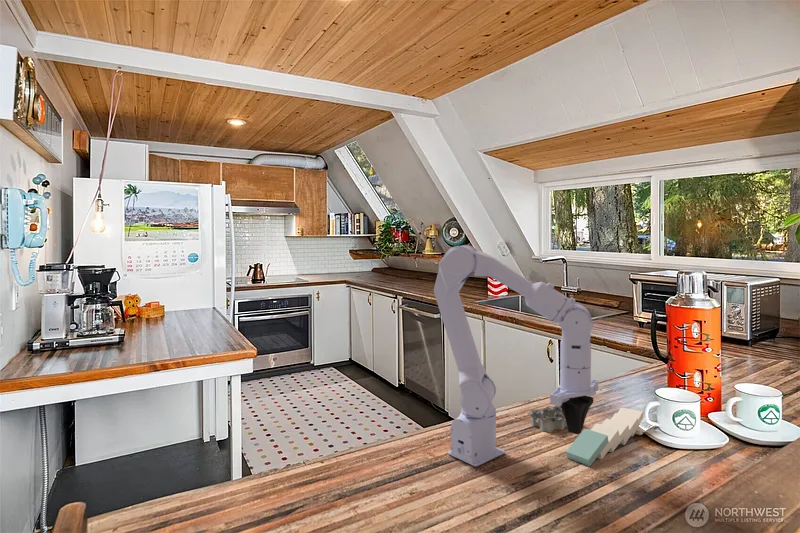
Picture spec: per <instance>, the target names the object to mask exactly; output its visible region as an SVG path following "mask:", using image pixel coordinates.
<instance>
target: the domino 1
mask: <svg viewBox="0 0 800 533" xmlns="http://www.w3.org/2000/svg"><path fill="white" fill-rule="evenodd" d="M608 442H609V441H608V436H607V435H604V434H601V433H598V432H595V431H592V430H591V429H588V428H584V429H582V432H581V433H580V434H578V436H577V437H576V439H575V440H574V441H573V442H572V443H571V444H570V446H569V447H568V448H567V449H566V451H565V454H566V458H567V459H570V460H572V461H574V462H578V463H579V464H583V465H585V466H589V467H591V466H592V464H593V463H594V462H595V460H596V459H598V458H597V456H598V455H599V454H600V453H601V451H602V450H603V449H604V447H605V446H606V445H607V443H608Z"/></svg>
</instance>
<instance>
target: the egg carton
mask: <svg viewBox="0 0 800 533" xmlns="http://www.w3.org/2000/svg"><path fill="white" fill-rule="evenodd" d="M527 414H528V415H529V416H530V425H531V426H532V427H539V431H541V432H548V433H553V432H554V430H561V431H562V430H565V427H566V428H568V427H567V423H566V419H565V416H564V413H563V411H562V408H561V407H560V406H556V405H554V406H550V407H549V406H546V407H544V408H539V409H536V408H531V409H529V411H528V413H527Z"/></svg>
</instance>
